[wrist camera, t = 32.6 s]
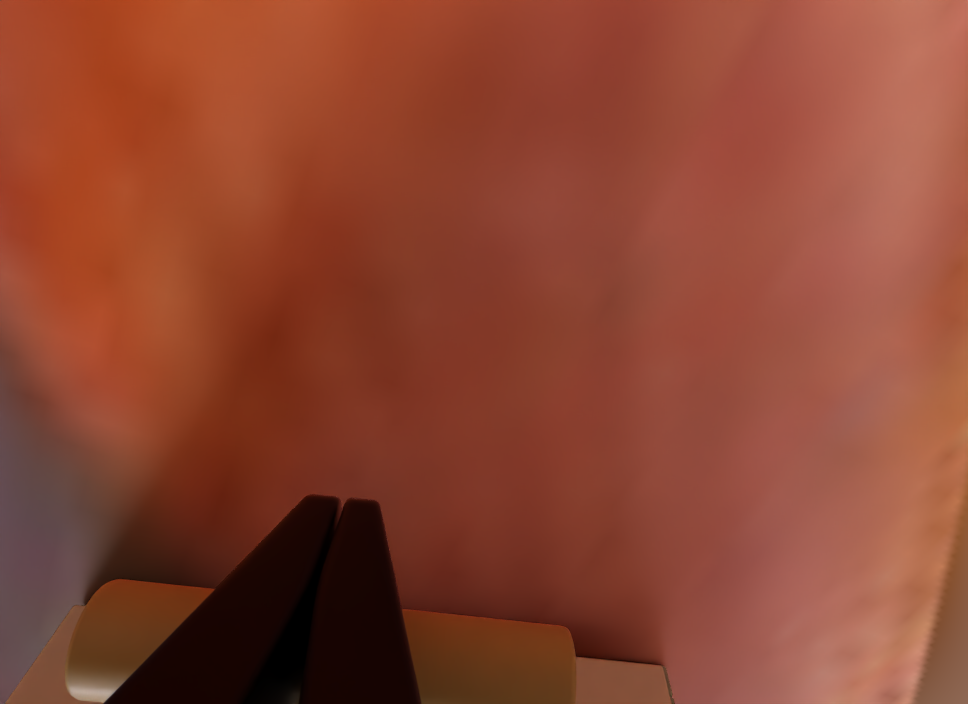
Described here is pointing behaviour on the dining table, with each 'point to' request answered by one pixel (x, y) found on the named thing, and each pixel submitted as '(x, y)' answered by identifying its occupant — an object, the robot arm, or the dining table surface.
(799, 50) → the dining table surface
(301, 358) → the dining table surface
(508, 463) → the dining table surface
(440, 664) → the drawer
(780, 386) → the dining table surface
